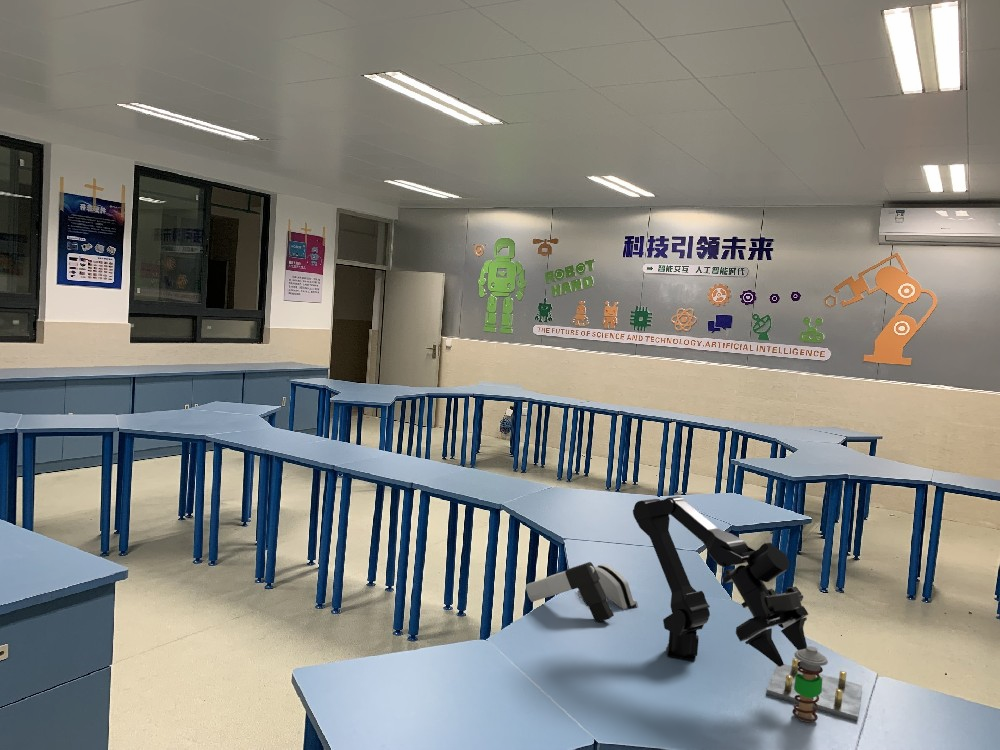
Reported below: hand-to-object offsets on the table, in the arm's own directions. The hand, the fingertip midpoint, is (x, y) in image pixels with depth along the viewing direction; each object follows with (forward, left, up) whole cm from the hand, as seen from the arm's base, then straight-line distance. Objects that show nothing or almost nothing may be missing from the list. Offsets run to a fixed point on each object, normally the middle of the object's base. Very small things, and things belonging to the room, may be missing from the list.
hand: (794, 661), depth 152 cm
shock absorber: (+3, -2, -11) cm, 12 cm away
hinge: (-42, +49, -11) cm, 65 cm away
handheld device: (-53, +34, -11) cm, 64 cm away
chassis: (+7, +11, -11) cm, 17 cm away
